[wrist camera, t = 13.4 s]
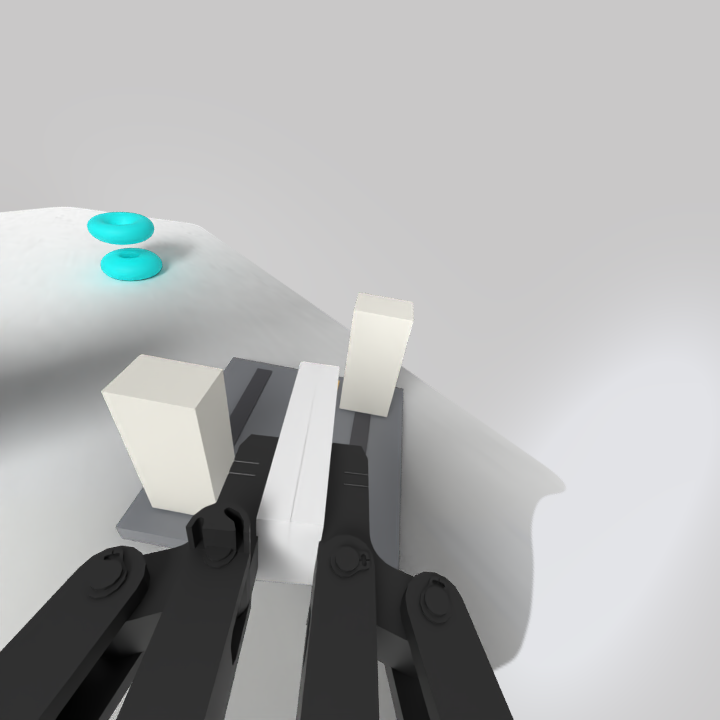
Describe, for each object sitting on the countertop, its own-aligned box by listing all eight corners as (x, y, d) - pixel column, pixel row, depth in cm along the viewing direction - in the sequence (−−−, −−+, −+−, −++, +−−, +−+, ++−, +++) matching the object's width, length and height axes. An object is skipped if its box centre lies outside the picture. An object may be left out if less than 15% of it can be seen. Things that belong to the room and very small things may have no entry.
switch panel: (393, 589, 30) (398, 579, 28) (122, 538, 30) (114, 526, 28) (400, 398, 49) (403, 387, 47) (234, 368, 49) (233, 356, 47)
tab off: (219, 519, 30) (194, 408, 21) (152, 507, 30) (100, 391, 21) (237, 479, 33) (222, 369, 25) (177, 468, 33) (140, 354, 25)
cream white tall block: (386, 417, 42) (413, 320, 34) (339, 408, 42) (353, 310, 34) (388, 395, 45) (413, 302, 37) (344, 386, 46) (358, 292, 37)
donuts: (135, 207, 66) (162, 223, 62) (148, 257, 72) (173, 274, 68) (74, 213, 59) (100, 231, 55) (94, 268, 65) (118, 288, 61)
